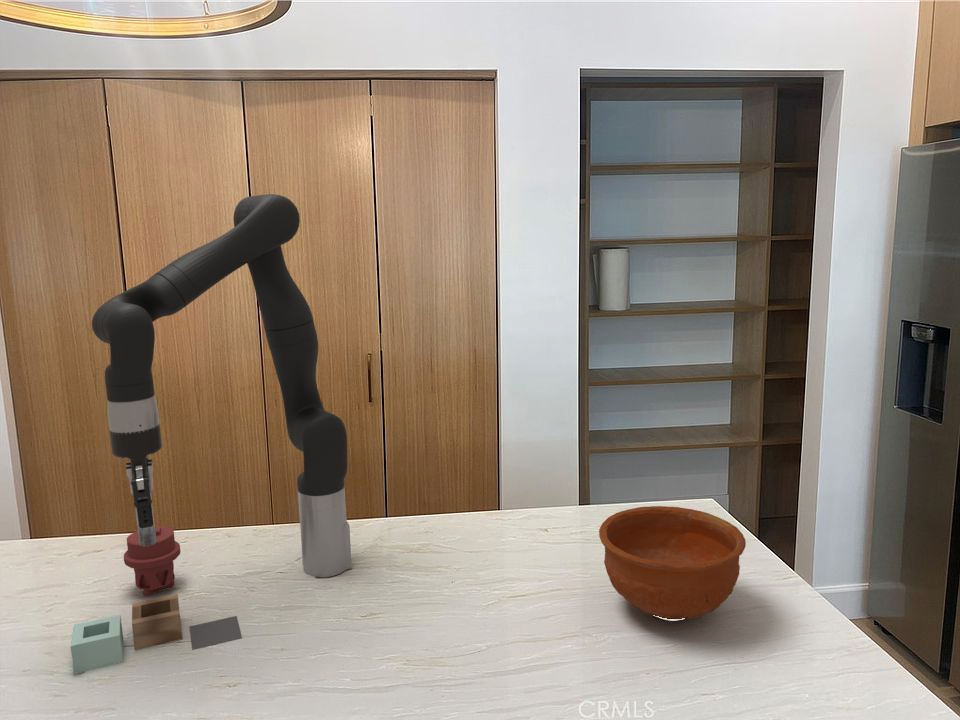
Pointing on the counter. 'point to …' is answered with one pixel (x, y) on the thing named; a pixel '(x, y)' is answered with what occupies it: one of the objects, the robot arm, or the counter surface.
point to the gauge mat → (215, 632)
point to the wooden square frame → (156, 621)
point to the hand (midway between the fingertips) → (146, 522)
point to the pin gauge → (146, 532)
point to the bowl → (672, 559)
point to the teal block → (97, 643)
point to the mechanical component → (153, 560)
